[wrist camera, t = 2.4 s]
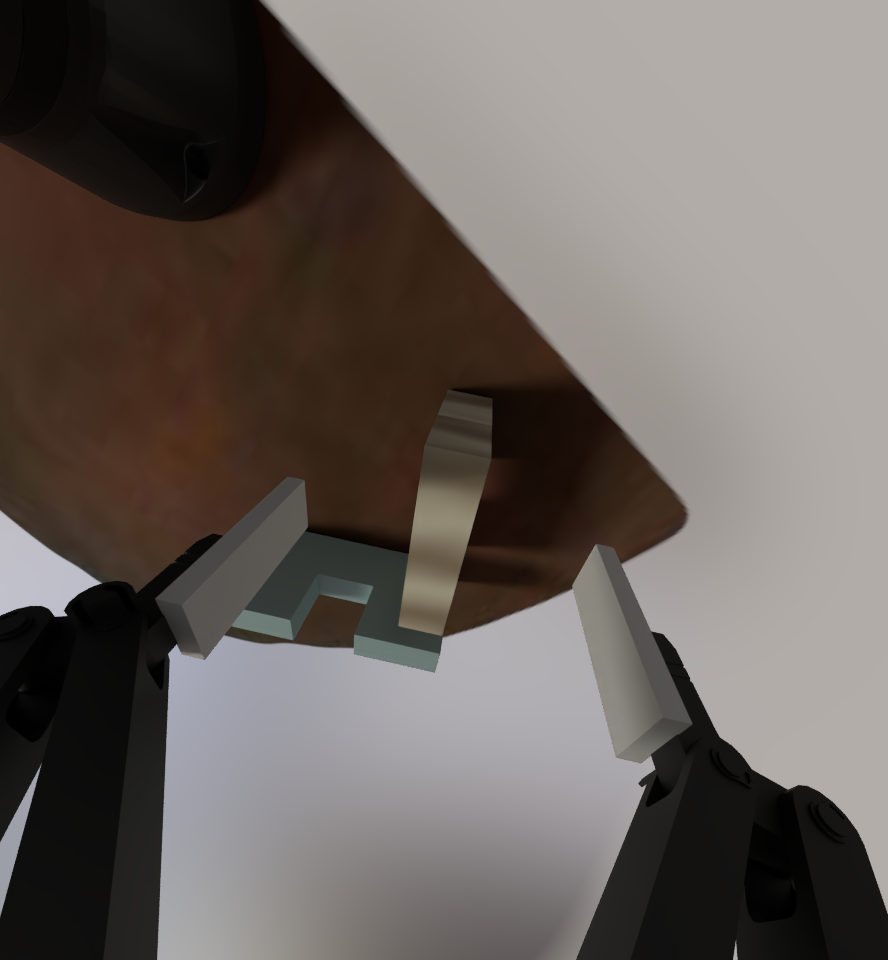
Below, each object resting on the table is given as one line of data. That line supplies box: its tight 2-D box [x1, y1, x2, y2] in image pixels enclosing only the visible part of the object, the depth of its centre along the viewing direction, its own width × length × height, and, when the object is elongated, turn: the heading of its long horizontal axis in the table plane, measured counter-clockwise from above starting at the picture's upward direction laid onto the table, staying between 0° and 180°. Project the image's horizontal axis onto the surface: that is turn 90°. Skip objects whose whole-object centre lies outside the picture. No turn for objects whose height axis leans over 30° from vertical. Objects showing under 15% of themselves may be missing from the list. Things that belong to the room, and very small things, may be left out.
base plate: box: [231, 531, 444, 672], centre depth 32 cm, size 20×3×10 cm, turn 81°
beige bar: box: [398, 390, 493, 636], centre depth 25 cm, size 16×4×10 cm, turn 171°
